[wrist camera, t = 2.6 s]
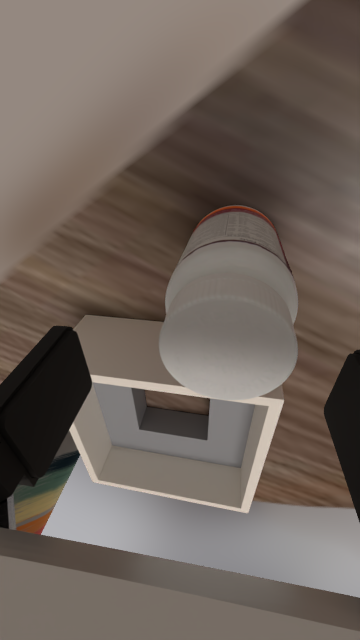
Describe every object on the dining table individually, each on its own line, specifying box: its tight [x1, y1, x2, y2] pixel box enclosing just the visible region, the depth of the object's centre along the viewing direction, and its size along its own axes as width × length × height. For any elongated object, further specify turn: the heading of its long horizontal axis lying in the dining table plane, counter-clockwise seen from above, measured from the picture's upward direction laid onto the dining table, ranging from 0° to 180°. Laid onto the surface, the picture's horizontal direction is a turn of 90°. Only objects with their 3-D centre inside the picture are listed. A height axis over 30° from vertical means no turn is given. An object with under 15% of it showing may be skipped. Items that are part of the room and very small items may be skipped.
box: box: [69, 315, 284, 513], centre depth 26 cm, size 17×18×7 cm
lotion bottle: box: [13, 431, 80, 535], centre depth 27 cm, size 6×6×20 cm
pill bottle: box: [159, 205, 298, 400], centre depth 14 cm, size 6×6×11 cm
